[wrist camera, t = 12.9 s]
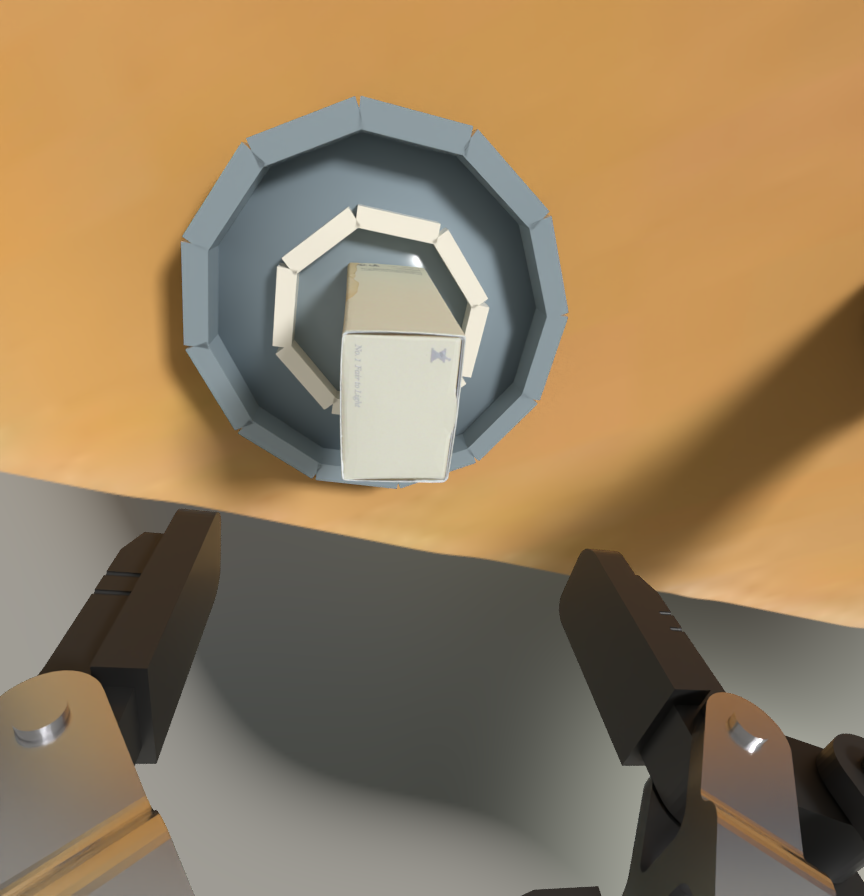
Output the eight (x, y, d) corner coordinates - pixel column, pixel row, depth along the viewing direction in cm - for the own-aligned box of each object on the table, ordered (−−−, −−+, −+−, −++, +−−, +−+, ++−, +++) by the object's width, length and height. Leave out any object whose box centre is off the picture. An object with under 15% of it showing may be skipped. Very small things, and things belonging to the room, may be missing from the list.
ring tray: (592, 166, 27) (619, 165, 24) (494, 475, 36) (505, 500, 33) (198, 60, 22) (175, 45, 20) (202, 440, 32) (187, 465, 29)
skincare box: (347, 260, 26) (335, 320, 16) (429, 267, 27) (470, 329, 16) (345, 371, 29) (335, 484, 19) (419, 374, 30) (449, 485, 20)
